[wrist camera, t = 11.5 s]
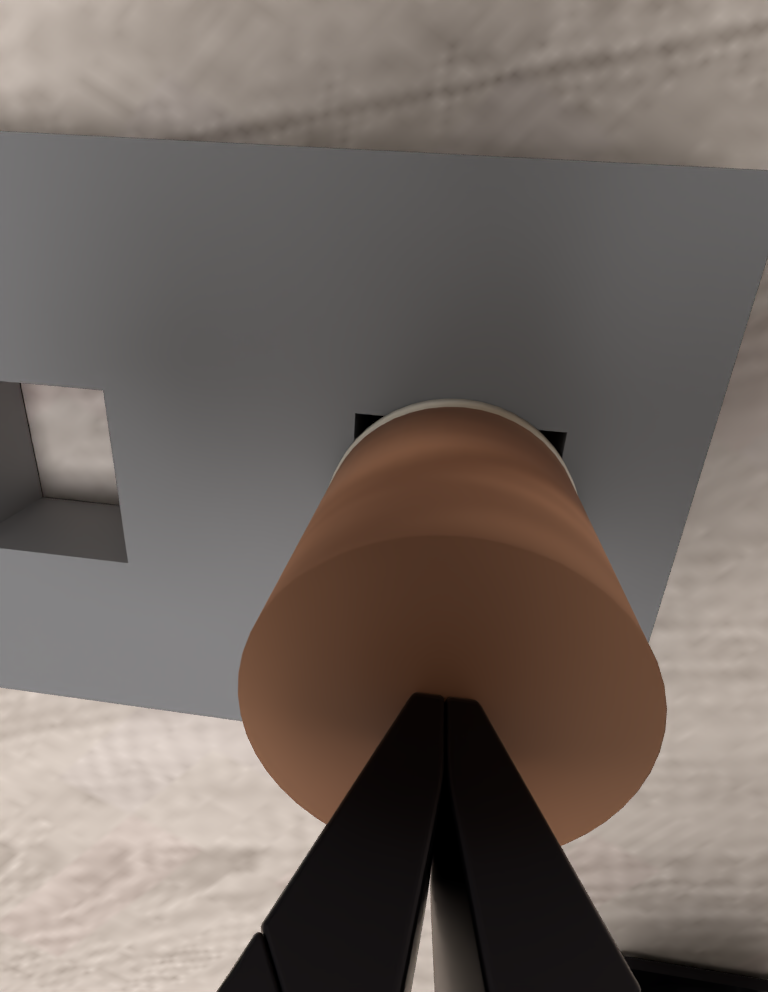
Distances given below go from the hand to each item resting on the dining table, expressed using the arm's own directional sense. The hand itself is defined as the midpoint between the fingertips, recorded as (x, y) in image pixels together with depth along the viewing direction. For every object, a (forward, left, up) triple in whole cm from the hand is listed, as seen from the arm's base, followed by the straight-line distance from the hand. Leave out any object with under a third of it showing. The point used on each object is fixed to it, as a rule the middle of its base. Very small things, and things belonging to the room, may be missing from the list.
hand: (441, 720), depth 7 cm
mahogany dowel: (0, 0, -9) cm, 9 cm away
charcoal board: (+5, 0, -9) cm, 10 cm away
